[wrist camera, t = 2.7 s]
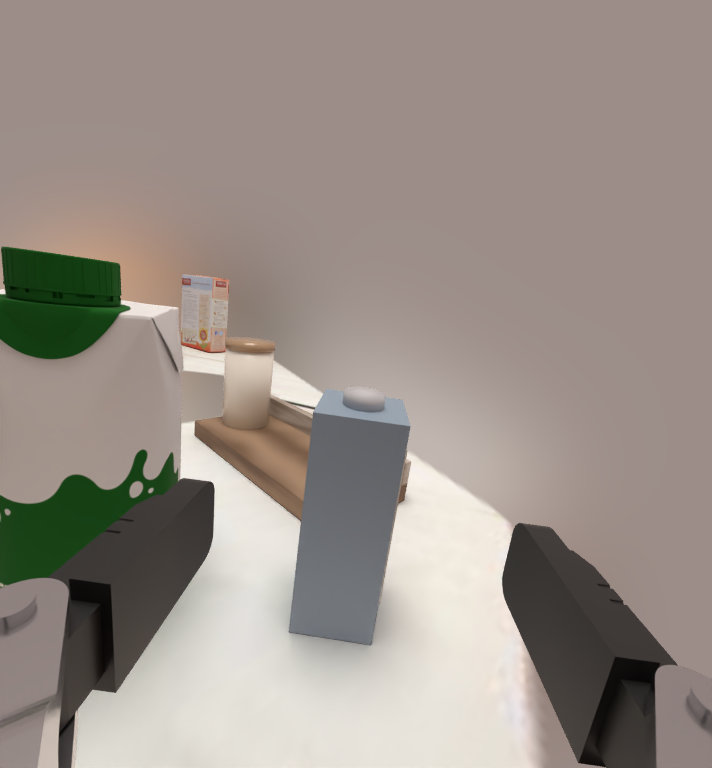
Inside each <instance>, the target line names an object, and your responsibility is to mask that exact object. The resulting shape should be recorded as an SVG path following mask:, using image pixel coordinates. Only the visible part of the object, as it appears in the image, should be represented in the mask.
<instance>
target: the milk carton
mask: <svg viewBox="0 0 712 768" xmlns="http://www.w3.org/2000/svg"><path fill="white" fill-rule="evenodd" d="M1 252H2V264H3V276H4V281H3V283H4V285H5V289H0V588H2V587H5V586H8V585H10V584H13V583H17V582H20V581H24V580H29V579H36V578H48V577H49V576H50V575H51V574H53V573H54V572H55V571H56V570H57V569H59V568H60V567H61V566H62V565H63V564H65V563H66V562H67V561H68V560H69V559H71V558H72V557H73V556H74V555H75V554H77V553H78V552H79V551H80V550H81V549H83V548H84V547H85V546H86V545H88V544H89V543H90V542H91V541H92V540H94V539H95V538H96V537H97V536H98V535H100V534H101V533H104V532H105V530H106V529H107V528H108V527H109V526H110V525H112V524H113V523H114V522H115V521H119V518H120V517H121V516H123V515H124V514H125V513H126V512H127V511H129V510H130V509H131V508H132V507H133V506H135V505H136V504H138V503H140V502H142V501H145V500H147V499H149V498H151V497H153V496H155V495H163V494H164V493H166V492H167V491H168V490H169V489H170V488H171V487H172V486H173V485H175V484H176V483H177V482H178V481H179V480H180V461H181V410H182V406H181V405H182V394H181V372H182V370H183V355H182V347H181V341H180V336H179V327H178V308H177V307H168V306H159V305H150V304H143V303H136V302H129V301H122V300H121V298H120V296H121V279H120V265H119V264H118V263H114V262H108V261H101V260H95V259H88V258H81V257H74V256H67V255H61V254H54V253H47V252H40V251H33V250H26V249H18V248H10V247H2V249H1Z"/></svg>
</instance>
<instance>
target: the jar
mask: <svg viewBox="0 0 712 768" xmlns="http://www.w3.org/2000/svg"><path fill="white" fill-rule="evenodd" d="M225 348H226V351H225V372H224V393H223V415H222V422H223V424H224V425H226V426H228V427H231V428H235V429H244V430H249V429H258V428H262V427H265V426H266V425H267V424H268V422H269V409H270V396H271V384H272V371H273V358H274V351H275V342H272V341H268V340H263V339H256V338H247V337H228V338H225Z"/></svg>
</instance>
